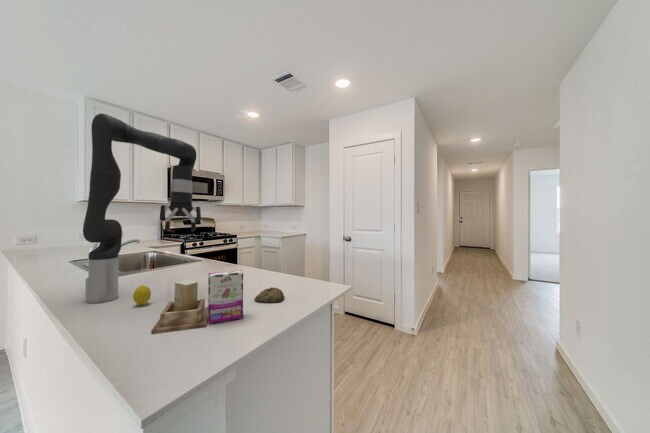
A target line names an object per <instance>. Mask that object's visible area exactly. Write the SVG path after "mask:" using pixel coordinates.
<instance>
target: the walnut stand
mask: <svg viewBox="0 0 650 433" xmlns="http://www.w3.org/2000/svg"><path fill="white" fill-rule="evenodd" d="M205 299H206V298H197V309H195V310H185V311H175V312H174V300H173V301H169V302H168V303H167V305H166V306H165V307H164V308H163V309H162V311H161V313H160V314H159V319H158V320H157V322H156V323H155V325H154V326H153V328H152V329H151V332H150V333H151V334H152V335H153V334H154V335H155V334H161V333H171V332H177V331H178V332H179V331H185V330H192V329H193V330H194V329H200V328H207V324H208V306H205V304H206V302H205V301H206V300H205Z"/></svg>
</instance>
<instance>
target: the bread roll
mask: <svg viewBox="0 0 650 433" xmlns="http://www.w3.org/2000/svg"><path fill="white" fill-rule="evenodd" d="M284 298H285V296H284V292H283V290H282V289H279V288H278V287H272V286H271V287H270V288H268V287H267V288H265V289H264V290H262V291H261V292H260V293H259V294H257V295H256V296H255V298H254V303H255V302H256V303H263V304H276V303H277V304H278V303H281V302H282V301H284Z"/></svg>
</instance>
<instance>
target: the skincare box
mask: <svg viewBox="0 0 650 433" xmlns="http://www.w3.org/2000/svg"><path fill="white" fill-rule="evenodd" d="M198 284H199V282H198V281H195V280H190V279H183V280H180V281H176V282H174V300H173V301H174V312H175V311H185V310H195V309H197V299H198V291H199V290H198V288H199V287H198Z"/></svg>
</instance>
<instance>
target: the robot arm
mask: <svg viewBox="0 0 650 433" xmlns="http://www.w3.org/2000/svg"><path fill="white" fill-rule="evenodd" d="M90 132H91V147H92V149H91V150H92V151H91V153H92V154H91V167H90V168H91V169H90V174H89V175H90V178H89V192H88V201H87V207H86V212H85V216H84V221H83V227H82V234H83V238H84V239H85V241H86V242H89V243H91V244H94V243H99V245H98V246H97V247H96V248H95V249H92V250H91V251H90V252H88V277H87V278H86V279H85V294H84V295H85V304H86V303H90V304H94V303H95V304H97V303H98V304H99V303H106V302H110V301H114V300H116V299H117V298H119V256H120V255H119V254H120V252H121V249H122V239H123V227H122V225H121V223H120V222H119V221H118V220H116V219H112V218H111V219H110V218H109V219H106V214H107V210H108V207H109V205H110V204H111V203H112V201H113V200H114V198H116V196H117V195H118V192H119V191H120V189H121V181H122V178H121V177H122V174H121V170H120V167H119V164H118V163H117V161H116V159H115V157H114V153H113V148H112V147H113V146H112V145H113V144H112V143H113V142H115V143H125V144H131V145H132V144H133V145H137V146H140V147H142V148H145V149H147V150H150V151H153V152H156V153H158V154H162V155H167V156H169V157H173V158H175V159H178V160H179V162H178V164H175V165H173V167H172V169H171V184H170V205H164V204H162V205H160V212H159V220H160V221H163V222H165V223H164V229H165V231H166V232H170V231H171V220H172V219H173V218H174V217H187V218H188V219H189V220H190V221H191V224H190V225H191V226H190V232H194V231H195V230H196V226H197V225H196V224H197V222H200V221H201V219H202V217H201V216H202V215H201V214H202V213H201V212H202V211H201V210H202V209H201V206H193V170H194V167H195V164H196V161H197V151H196V148H195V147H194V145H191V144H189V143H188V142H185V141H183V140H180V139H177V138H174V137H173V138H172V137H167V136H165V135H161V134H160V133H156V132H153V131H145V130H140V129H137V128H135V127H134V126H131V125H129V124H128V123H126V122H124V121H122V120H121V119H118V118H116V117H114V116H112V115H110V114H106V113H98V114H96V115H94V117H93V119H92V122H91V131H90ZM168 210H169V211H170V212H171V213H169V214H168V216H167V217H166V212H167V211H168ZM193 210H194V212H196V218H195V217H194V216H193V214H192V213H191V212H193Z"/></svg>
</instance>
